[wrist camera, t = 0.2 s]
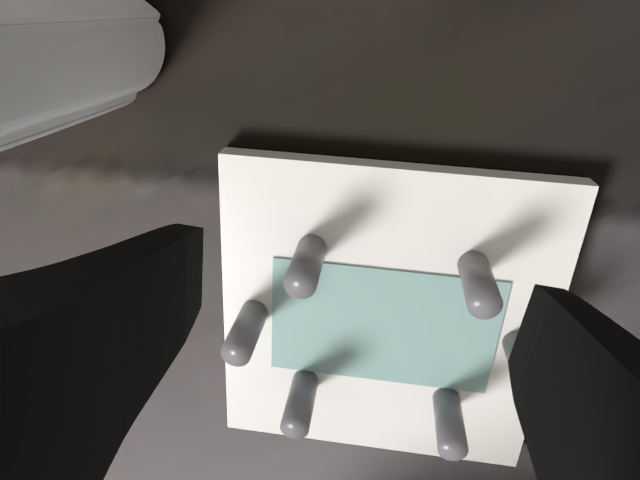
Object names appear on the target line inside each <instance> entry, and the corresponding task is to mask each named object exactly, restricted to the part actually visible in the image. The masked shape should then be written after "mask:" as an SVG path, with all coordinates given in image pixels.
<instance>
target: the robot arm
mask: <svg viewBox="0 0 640 480" xmlns="http://www.w3.org/2000/svg"><path fill="white" fill-rule="evenodd" d="M202 262H203V228H201V227H195V226H189V225H183V224H172V225H168V226H164V227H161V228H158V229H155V230H152V231H149V232H146V233H144V234H141V235H138V236H135V237H133V238H130V239H127V240H124V241H122V242H119V243H116V244H113V245H111V246H108V247H105V248H102V249H99V250H96V251H93V252H90V253H87V254H83V255H80V256H77V257H74V258H71V259H68V260H65V261H62V262H58V263H55V264H51V265H47V266H44V267H40V268H36V269H32V270H27V271H23V272H19V273H14V274H10V275H5V276H0V480H103V479H104V477H105V475H106V473H107V471H108V469H109V467H110V465H111V463H112V461H113V459H114V457H115V455H116V453H117V451H118V449H119V447H120V445H121V443H122V441H123V439H124V438H125V436H126V434H127V433H128V431H129V429H130V427H131V426H132V424H133V422H134V421H135V419H136V418H137V416H138V415H139V413H140V411H141V410H142V408H143V407H144V405H145V404H146V402H147V401H148V399H149V398H150V396H151V395H152V393H153V391H154V390H155V388H156V387H157V385H158V384H159V382H160V381H161V379H162V378H163V376H164V375H165V373H166V372H167V370H168V368H169V367H170V365H171V364H172V362H173V361H174V359H175V358H176V356H177V354H178V353H179V351H180V350H181V348H182V346H183V345H184V343H185V342H186V339H187V337H188V335H189V333H190V331H191V329H192V327H193V324H194V322H195V320H196V318H197V315H198V313H199V311H200V308H201V299H202ZM508 367H509V375H510V383H511V389H512V395H513V401H514V405H515V408H516V412H517V415H518V418H519V422H520V425H521V428H522V432H523V435H524V438H525V441H526V444H527V448H528V451H529V454H530V457H531V460H532V463H533V467H534V470H535V473H536V476H537V479H538V480H640V340H639V339H638V338H636V337H635V336H634V335H632V334H631V333H629V332H628V331H626V330H625V329H624V328H622V327H621V326H620V325H618V324H617V323H615V322H614V321H613V320H611V319H610V318H608V317H607V316H606V315H604V314H603V313H601V312H600V311H599V310H597V309H596V308H594V307H593V306H592V305H590V304H589V303H587V302H586V301H584V300H583V299H581V298H580V297H578V296H576V295H575V294H573V293H571V292H569V291H568V290H566V289H562V288H556V287H550V286H544V285H538V284H535V285H534V288H533V291H532V294H531V297H530V300H529V302H528V305H527V308H526V311H525V314H524V317H523V319H522V322H521V325H520V328H519V331H518V334H517V337H516V339H515V342H514V345H513V348H512V351H511V354H510V356H509V359H508Z"/></svg>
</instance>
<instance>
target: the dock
mask: <svg viewBox="0 0 640 480" xmlns="http://www.w3.org/2000/svg"><path fill="white" fill-rule="evenodd" d="M218 166H219V194H220V222H221V251H222V279H223V307H224V335H225V341H224V344H223V346H222V348H221V356H222V358H223V360H224V361H225V364H226V392H227V420H228V427H231V428H239V429H246V430H253V431H260V432H267V433H275V434H282V435H285V436H287V437H288V438H291V439H302V438H311V439H318V440H325V441H332V442H339V443H347V444H354V445H361V446H368V447H376V448H383V449H390V450H397V451H404V452H412V453H419V454H426V455H433V456H440V457H442V458H443V459H445V460H448V461H459V460H469V461H476V462H484V463H491V464H498V465H505V466H513V467H516V464H517V461H518V458H519V454H520V451H521V447H522V444H523V441H524V435H523V432H522V428H521V425H520V422H519V418H518V415H517V412H516V408H515V405H514V401H513V395H512V389H511V383H510V375H509V367H508V359H509V356H510V354H511V351H512V348H513V345H514V342H515V339H516V337H517V334H518V331H519V328H520V325H521V322H522V319H523V317H524V314H525V311H526V308H527V305H528V302H529V300H530V297H531V294H532V291H533V288H534V285H535V284H538V285H544V286H550V287H556V288H562V289H566V290H568V289H569V286H570V283H571V279H572V276H573V273H574V269H575V266H576V263H577V259H578V256H579V253H580V249H581V246H582V242H583V239H584V236H585V232H586V229H587V226H588V222H589V219H590V216H591V212H592V209H593V205H594V202H595V199H596V195H597V192H598V189H599V186H598V185H597V184H596V183H595V182H594V181H592V180H591V179H590V178H586V177H574V176H562V175H550V174H539V173H527V172H515V171H503V170H491V169H480V168H468V167H456V166H444V165H433V164H421V163H409V162H397V161H386V160H374V159H362V158H350V157H339V156H327V155H315V154H303V153H292V152H280V151H268V150H256V149H244V148H233V147H225V148H224V149H223V150H222V151H220V152H219V153H218Z"/></svg>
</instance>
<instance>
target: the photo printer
mask: <svg viewBox="0 0 640 480" xmlns="http://www.w3.org/2000/svg"><path fill="white" fill-rule="evenodd" d="M160 16H161V15H160V13H159V12H158V11H157V10H156V9H155V8H154V7H152V6H151V5H150V4H149V3H147V2H146V1H145V0H0V152H1V151H4V150H7V149H9V148H12V147H15V146H17V145H20V144H23V143H26V142H29V141H32V140H34V139H37V138H40V137H43V136H46V135H48V134H51V133H53V132H56V131H59V130H62V129H64V128H67V127H70V126H73V125H75V124H78V123H81V122H83V121H86V120H89V119H91V118H94V117H97V116H100V115H102V114H105V113H108V112H110V111H112V110H115V109H118V108H120V107H123V106H126V105H128V104H129V103H131V102H132V101H134V100H135V98H136V94H137V92H139V91H141V90H143V89H145V88H146V87H147V86H149V85H150V84H151V83H152V82H153V81H154V80H155V79H156V77H157V75H158V74H159V72H160V70H161V67H162V65H163V61H164V55H165V39H164V33H163V29H162V26H161V24H160V23H159V22H158V21H159V18H160Z"/></svg>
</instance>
